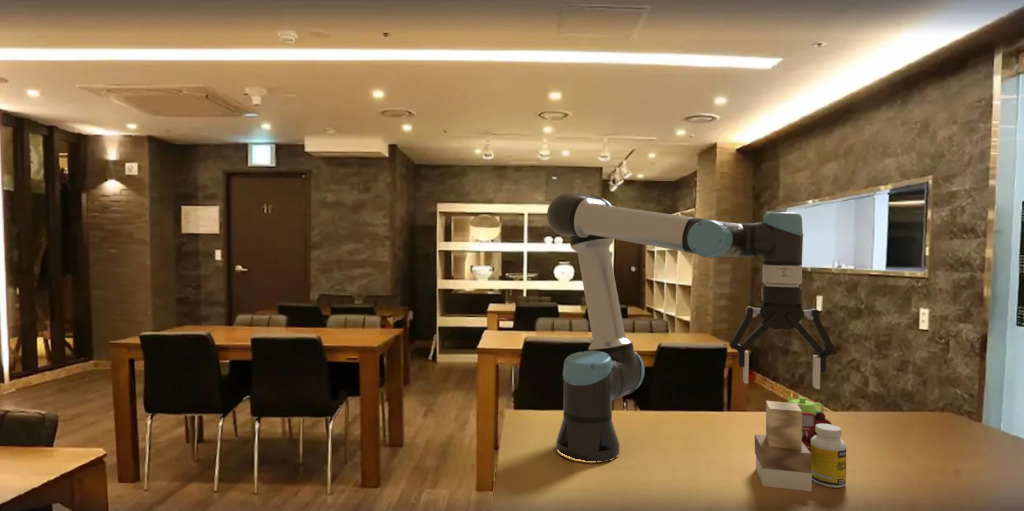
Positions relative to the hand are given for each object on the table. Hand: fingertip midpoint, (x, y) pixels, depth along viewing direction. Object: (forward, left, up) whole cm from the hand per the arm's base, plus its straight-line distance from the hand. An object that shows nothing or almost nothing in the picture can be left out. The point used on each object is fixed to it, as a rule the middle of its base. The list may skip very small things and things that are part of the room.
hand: (780, 384), depth 112 cm
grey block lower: (0, 0, -20) cm, 20 cm away
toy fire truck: (+9, +16, -20) cm, 27 cm away
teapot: (+11, +37, -20) cm, 44 cm away
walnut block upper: (0, -1, -16) cm, 16 cm away
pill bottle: (+9, +1, -20) cm, 22 cm away
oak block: (+1, 0, -12) cm, 12 cm away
